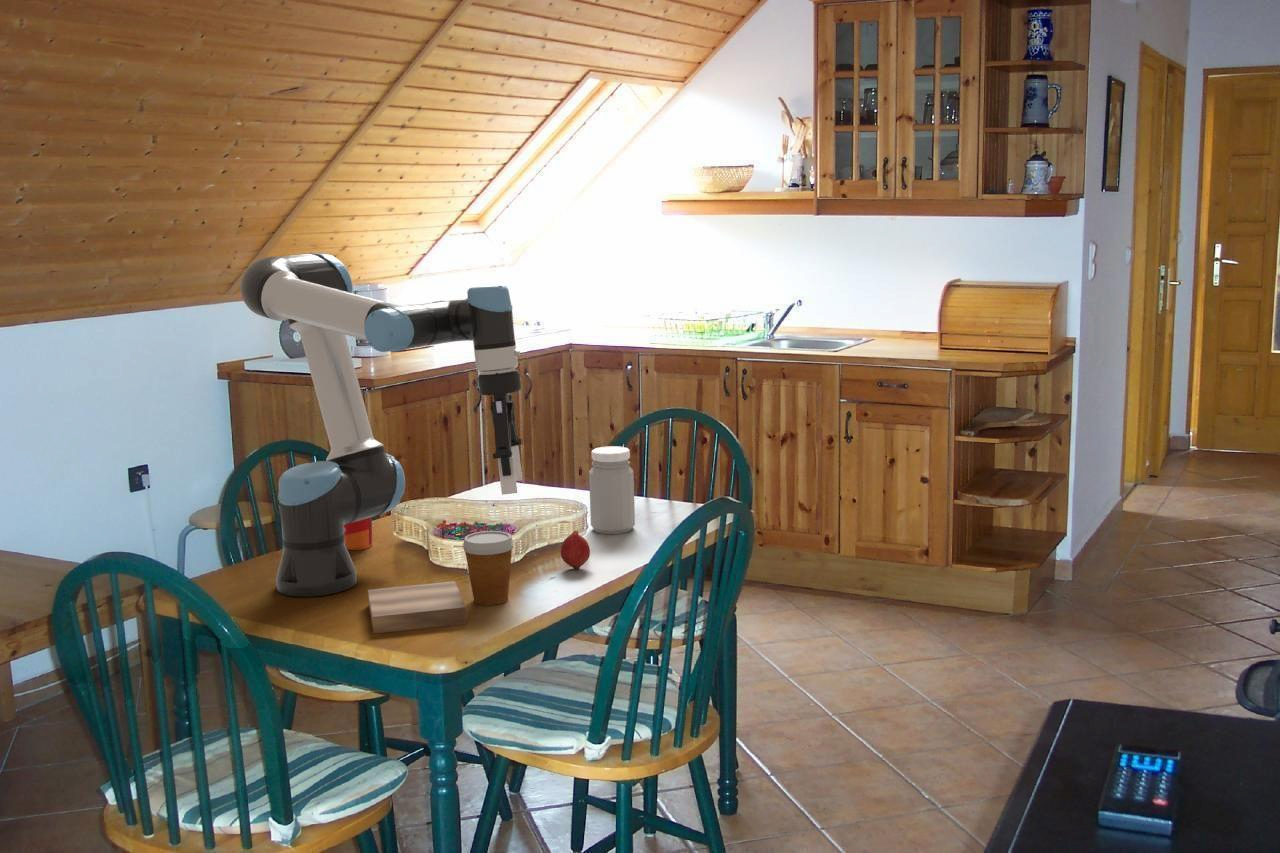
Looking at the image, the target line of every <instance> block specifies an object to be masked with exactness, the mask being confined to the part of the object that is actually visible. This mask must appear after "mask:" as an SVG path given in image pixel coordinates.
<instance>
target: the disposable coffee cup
mask: <svg viewBox="0 0 1280 853" xmlns="http://www.w3.org/2000/svg"><path fill="white" fill-rule="evenodd" d="M514 545H515V541H514V540H513V537H512V535H511V533H508V532H506V531H500V530H486V531H476V532H473V533H470V534H468V535H465V536H464V539H463V543H462V544H461V547H462V548H463V551H464V553H465V558H466V559H465V560H466V565H467V569H468V573H469V574H468V576H469V580H470V581H469V582H470V585H471V592H472V597H473V602H474V603H475V604H479V605H484V606H491V605H493V606H494V605H498V604H499V605H500V604H503V603H505V602H507V601H509V588H510V576H511V566H512V565H511V563H512V554H513V551H512V550H513V548H514Z"/></svg>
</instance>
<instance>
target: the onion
mask: <svg viewBox="0 0 1280 853" xmlns="http://www.w3.org/2000/svg"><path fill="white" fill-rule="evenodd" d="M560 547H561V548H560V556H561V558H562V561H563V562H564V563H566V565H568V566H570V568H573V569H574V570H578V569H580V568H581V567H582V566H583V565H584V564H585V563H587V561H588V560H589V558H590V555H591V554H590V553H591V548H590V545H589V542H588V540H587V539H586V538H584V537H583V536H582V535H580V534H579V530H578V529H575V530H573V531H572V533H570V535H568V536H567V537H565V539H564V540H563V541H562V543H561V546H560Z"/></svg>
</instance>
